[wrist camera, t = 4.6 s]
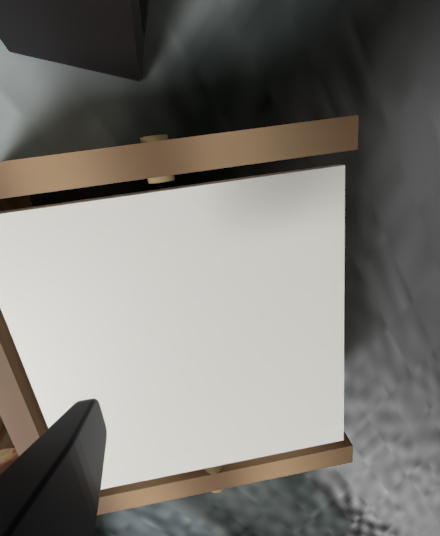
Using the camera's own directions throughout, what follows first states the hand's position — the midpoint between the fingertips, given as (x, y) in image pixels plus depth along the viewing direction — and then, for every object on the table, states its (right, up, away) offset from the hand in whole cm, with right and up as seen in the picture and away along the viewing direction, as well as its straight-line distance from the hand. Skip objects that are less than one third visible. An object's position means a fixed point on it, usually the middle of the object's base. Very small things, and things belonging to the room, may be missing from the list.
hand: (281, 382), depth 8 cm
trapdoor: (-3, 0, +9) cm, 10 cm away
